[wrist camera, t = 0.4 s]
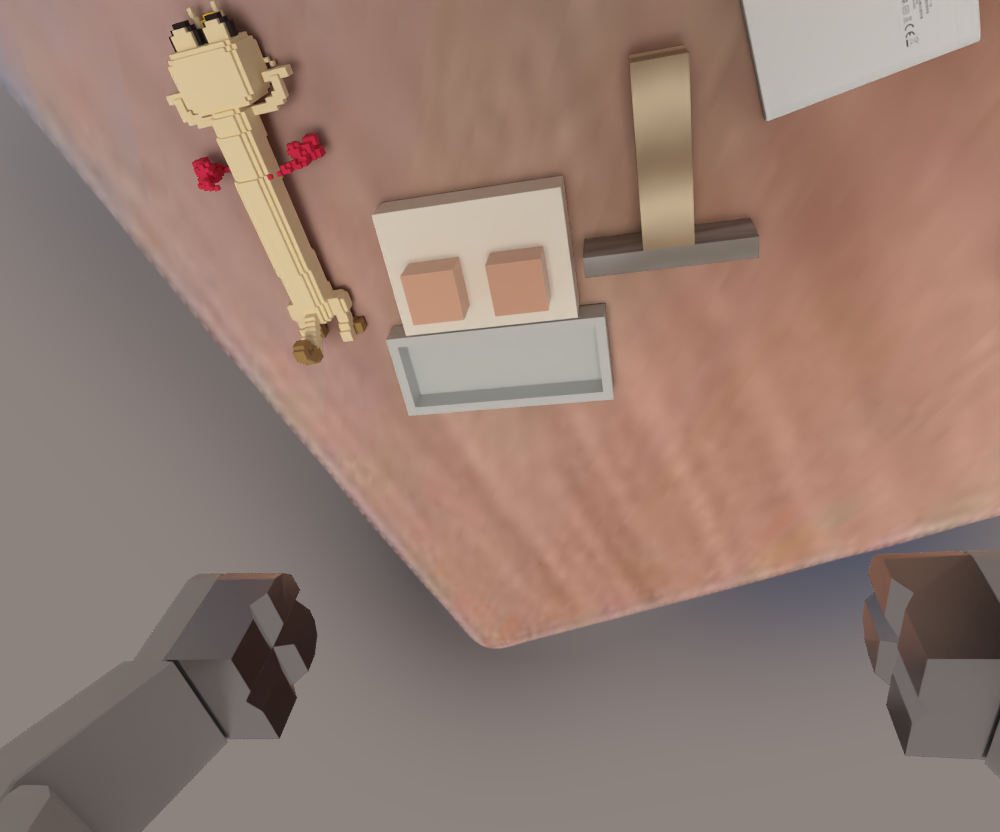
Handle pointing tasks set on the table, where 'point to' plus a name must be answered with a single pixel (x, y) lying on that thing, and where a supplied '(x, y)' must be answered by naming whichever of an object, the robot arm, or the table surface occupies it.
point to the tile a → (435, 291)
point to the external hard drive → (846, 43)
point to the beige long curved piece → (256, 162)
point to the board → (481, 245)
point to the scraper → (666, 181)
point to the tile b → (518, 281)
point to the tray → (505, 365)
